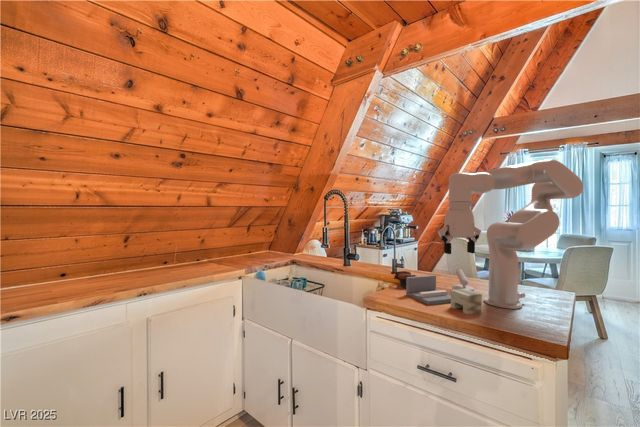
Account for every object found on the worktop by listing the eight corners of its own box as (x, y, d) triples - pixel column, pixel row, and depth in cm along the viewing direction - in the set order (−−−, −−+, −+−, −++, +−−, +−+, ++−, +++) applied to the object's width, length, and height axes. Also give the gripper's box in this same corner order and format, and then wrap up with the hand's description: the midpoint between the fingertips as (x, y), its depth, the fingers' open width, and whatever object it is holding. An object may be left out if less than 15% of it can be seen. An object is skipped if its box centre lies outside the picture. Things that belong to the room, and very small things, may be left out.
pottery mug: (390, 288, 135) (390, 271, 139) (399, 293, 141) (398, 277, 146) (415, 285, 128) (414, 268, 132) (423, 291, 134) (422, 274, 138)
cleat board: (433, 292, 128) (433, 275, 128) (457, 301, 115) (458, 282, 114) (406, 294, 123) (406, 277, 123) (428, 305, 110) (428, 285, 110)
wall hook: (468, 268, 132) (477, 273, 122) (468, 289, 132) (477, 296, 122) (448, 268, 133) (455, 272, 123) (448, 288, 133) (455, 295, 123)
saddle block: (464, 305, 110) (464, 288, 110) (481, 312, 103) (481, 294, 103) (450, 307, 108) (451, 289, 108) (466, 314, 101) (467, 295, 101)
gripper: (473, 206, 112) (472, 251, 113) (432, 206, 109) (432, 252, 109) (487, 206, 105) (487, 254, 105) (445, 206, 102) (444, 255, 102)
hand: (459, 253), depth 107 cm, fingers open, 9 cm apart
